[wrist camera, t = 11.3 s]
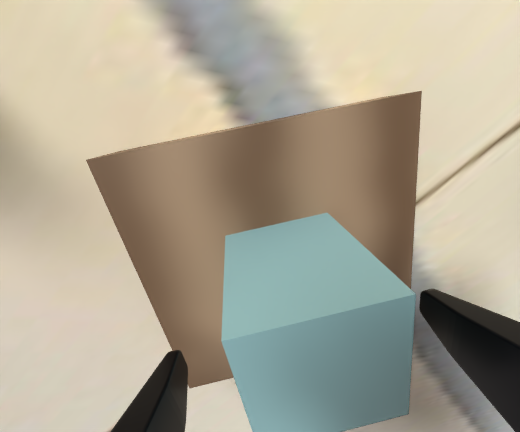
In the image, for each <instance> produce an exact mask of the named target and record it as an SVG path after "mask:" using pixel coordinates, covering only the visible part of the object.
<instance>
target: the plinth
mask: <svg viewBox="0 0 520 432" xmlns="http://www.w3.org/2000/svg"><path fill="white" fill-rule="evenodd" d="M421 93H422V91H418V92H412V93H406V94H400V95H394V96H388V97H382V98H377V99H372V100H367V101H362V102H357V103H352V104H347V105H343V106H338V107H333V108H328V109H323V110H318V111H313V112H309V113H304V114H299V115H294V116H289V117H284V118H279V119H275V120H270V121H265V122H260V123H255V124H250V125H245V126H240V127H236V128H231V129H226V130H221V131H216V132H211V133H206V134H202V135H197V136H192V137H187V138H182V139H177V140H172V141H168V142H163V143H158V144H153V145H148V146H143V147H138V148H134V149H129V150H124V151H119V152H115V153H111V154H107V155H103V156H100V157H96V158H92V159H88V160H86V161H87V163H88V165H89V168H90V170H91V172H92V174H93V176H94V179H95V181H96V183H97V185H98V187H99V190H100V192H101V194H102V196H103V198H104V201H105V203H106V205H107V207H108V209H109V212H110V214H111V216H112V218H113V220H114V223H115V225H116V227H117V229H118V232H119V234H120V236H121V238H122V240H123V243H124V245H125V247H126V249H127V251H128V254H129V256H130V258H131V260H132V262H133V265H134V267H135V269H136V271H137V273H138V276H139V278H140V280H141V282H142V284H143V287H144V289H145V291H146V293H147V295H148V298H149V300H150V302H151V304H152V306H153V309H154V311H155V313H156V315H157V317H158V320H159V322H160V324H161V326H162V328H163V331H164V333H165V335H166V337H167V339H168V342H169V344H170V346H171V348H172V350H173V351H175V350H181V352H182V354H183V356H184V359H185V361H186V363H187V366H188V386H189V388H193V387H197V386H201V385H205V384H209V383H213V382H217V381H221V380H225V379H229V378H234V376H233V373H232V370H231V368H230V365H229V362H228V359H227V356H226V353H225V350H224V347H223V345H222V342H221V338H222V312H223V285H224V259H225V236H226V235H231V234H235V233H239V232H244V231H248V230H253V229H257V228H261V227H266V226H270V225H275V224H279V223H283V222H288V221H292V220H297V219H301V218H305V217H310V216H314V215H319V214H323V213H328V214H330V215H331V216H332V217H333V218H334V219H335V220H336V221H337V222H338V223H339V224H340V225H341V226H343V227H344V228H345V229H346V230H347V231H348V232H349V233H350V234H351V235H352V236H353V237H354V238H356V239H357V240H358V241H359V242H360V243H361V244H362V245H363V246H364V247H365V248H366V249H367V250H369V251H370V252H371V253H372V254H373V255H374V256H375V257H376V258H377V259H378V260H379V261H380V262H382V263H383V264H384V265H385V266H386V267H387V268H388V269H389V270H390V271H391V272H392V273H394V274H395V275H396V276H397V277H398V278H399V279H400V280H401V281H402V282H403V283H404V284H405V285H407V286H408V287H409V288H410V289H411V274H412V256H413V238H414V219H415V201H416V183H417V165H418V147H419V129H420V111H421Z"/></svg>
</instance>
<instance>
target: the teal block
mask: <svg viewBox="0 0 520 432" xmlns="http://www.w3.org/2000/svg"><path fill="white" fill-rule="evenodd" d="M415 300H416V294H415V293H414V292H413V291H412V290H411V289H410V288H409V287H408V286H407V285H405V284H404V283H403V282H402V281H401V280H400V279H399V278H398V277H397V276H396V275H395V274H394V273H392V272H391V271H390V270H389V269H388V268H387V267H386V266H385V265H384V264H383V263H382V262H380V261H379V260H378V259H377V258H376V257H375V256H374V255H373V254H372V253H371V252H370V251H369V250H367V249H366V248H365V247H364V246H363V245H362V244H361V243H360V242H359V241H358V240H357V239H356V238H354V237H353V236H352V235H351V234H350V233H349V232H348V231H347V230H346V229H345V228H344V227H343V226H341V225H340V224H339V223H338V222H337V221H336V220H335V219H334V218H333V217H332V216H331V215H330V214H328V213H323V214H319V215H314V216H310V217H305V218H301V219H297V220H292V221H288V222H283V223H279V224H275V225H270V226H266V227H261V228H257V229H253V230H248V231H244V232H239V233H235V234H231V235H226V236H225V259H224V285H223V312H222V338H221V342H222V345H223V347H224V350H225V353H226V356H227V359H228V362H229V365H230V368H231V370H232V373H233V376H234V379H235V382H236V385H237V388H238V391H239V394H240V396H241V399H242V402H243V405H244V408H245V411H246V414H247V417H248V419H249V422H250V425H251V428H252V431H253V432H342V431H346V430H350V429H354V428H358V427H361V426H365V425H369V424H373V423H377V422H381V421H384V420H388V419H392V418H396V417H400V416H403V415H407V414H409V398H410V382H411V366H412V349H413V333H414V316H415Z"/></svg>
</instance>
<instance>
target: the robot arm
mask: <svg viewBox="0 0 520 432" xmlns="http://www.w3.org/2000/svg"><path fill="white" fill-rule="evenodd" d="M420 312H421V314H422V315H423V317H424V318H425V320H426V321H427V323H428V324H429V325H430V327H431V328H432V330H433V331H434V333H435V334H436V335H437V337H438V338H439V340H440V341H441V342H442V344H443V345H444V347H445V348H446V349H447V351H448V352H449V353H450V355H451V356H452V357H453V358H454V360H455V361H456V362H457V363H458V364H459V366H460V367H461V368H462V369H463V370H464V372H465V373H466V374H467V375H468V376H469V378H470V379H471V380H472V381H473V382H474V383H475V385H476V386H477V387H478V388H479V389H480V391H481V392H482V393H483V394H484V395H485V396H486V398H487V399H488V400H489V401H490V402H491V404H492V405H493V406H494V407H495V408H496V410H497V411H498V412H499V413H500V414H501V415H502V417H503V418H504V419H505V420H506V421H507V423H508V424H509V425H510V426H511V427H512V428H513V430H514V431H515V432H520V322H518V321H515V320H513V319H510V318H507V317H505V316H502V315H500V314H497V313H495V312H492V311H489V310H487V309H484V308H482V307H479V306H477V305H474V304H471V303H469V302H466V301H464V300H461V299H459V298H456V297H453V296H451V295H448V294H446V293H443V292H441V291H438V290H435V289H429V290H424V291H422V292H421V295H420ZM187 387H188V366H187V363H186V361H185V359H184V356H183V354H182V352H181V350H175V351H170V352H168V353H167V354H166V356H165V357H164V358H163V360H162V361H161V363H160V364H159V365H158V367H157V368H156V369H155V371H154V372H153V374H152V375H151V376H150V378H149V379H148V381H147V382H146V383H145V385H144V386H143V388H142V389H141V390H140V392H139V393H138V394H137V396H136V397H135V399H134V400H133V401H132V403H131V404H130V406H129V407H128V408H127V410H126V411H125V412H124V414H123V415H122V417H121V418H120V419H119V421H118V422H117V424H116V425H115V426H114V428H113V429H112V430H111V432H185V424H186V410H187Z"/></svg>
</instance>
